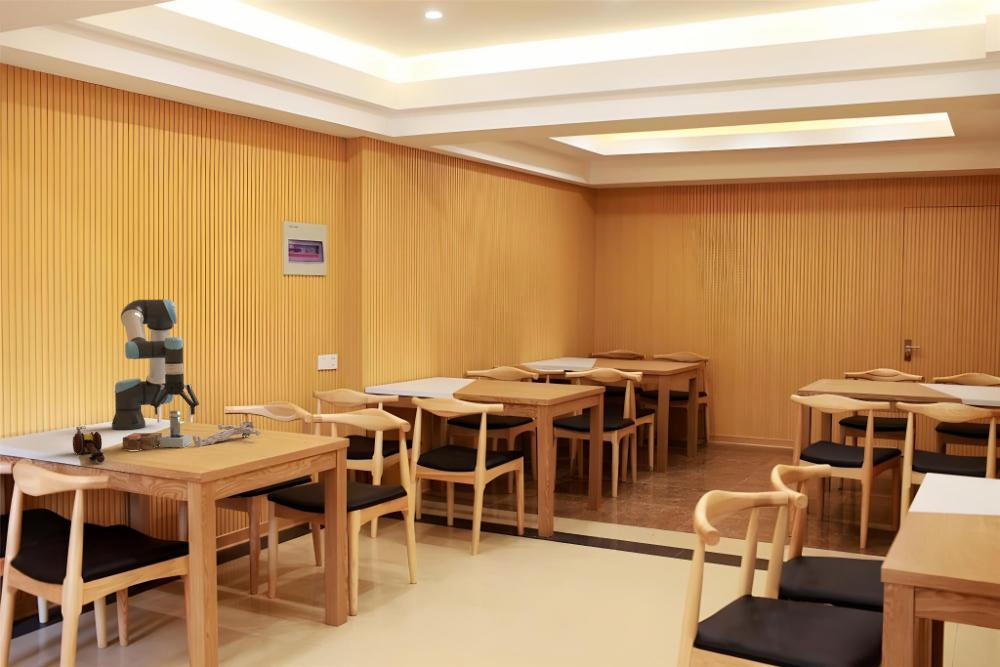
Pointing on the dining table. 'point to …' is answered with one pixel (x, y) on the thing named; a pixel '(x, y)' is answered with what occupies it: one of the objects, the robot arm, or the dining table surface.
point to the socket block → (142, 441)
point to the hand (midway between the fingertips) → (175, 422)
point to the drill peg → (174, 424)
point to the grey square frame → (175, 441)
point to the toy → (227, 433)
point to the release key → (135, 437)
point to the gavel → (88, 444)
